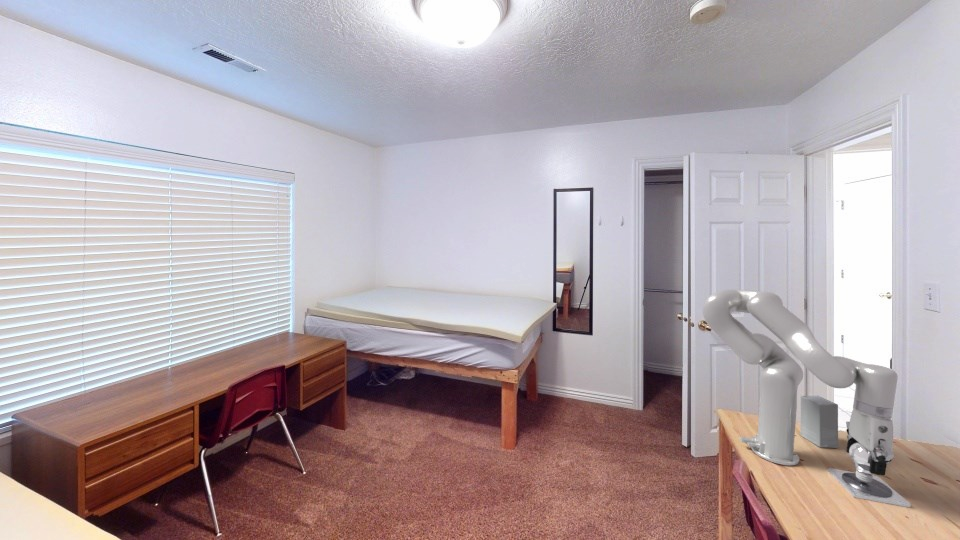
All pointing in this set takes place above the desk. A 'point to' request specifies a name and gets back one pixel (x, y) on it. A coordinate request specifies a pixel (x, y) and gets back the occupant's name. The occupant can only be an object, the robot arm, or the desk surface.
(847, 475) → the duct plate
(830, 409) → the skincare box
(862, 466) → the light bulb
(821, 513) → the desk surface
